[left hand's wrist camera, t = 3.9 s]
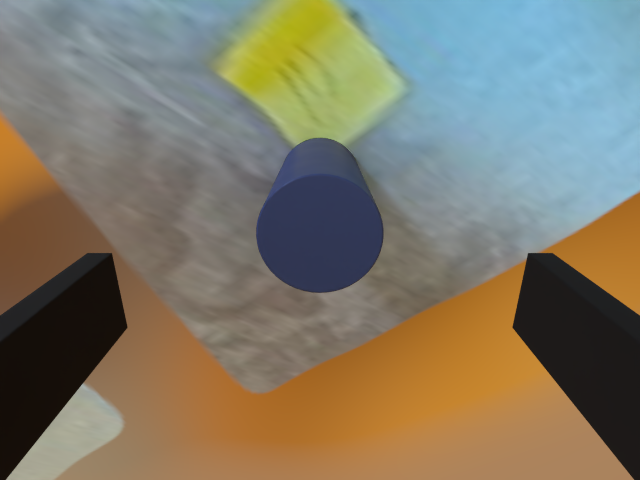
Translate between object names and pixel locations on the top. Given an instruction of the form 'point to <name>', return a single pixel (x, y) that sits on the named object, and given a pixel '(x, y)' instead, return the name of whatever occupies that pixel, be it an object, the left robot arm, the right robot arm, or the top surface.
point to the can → (319, 220)
